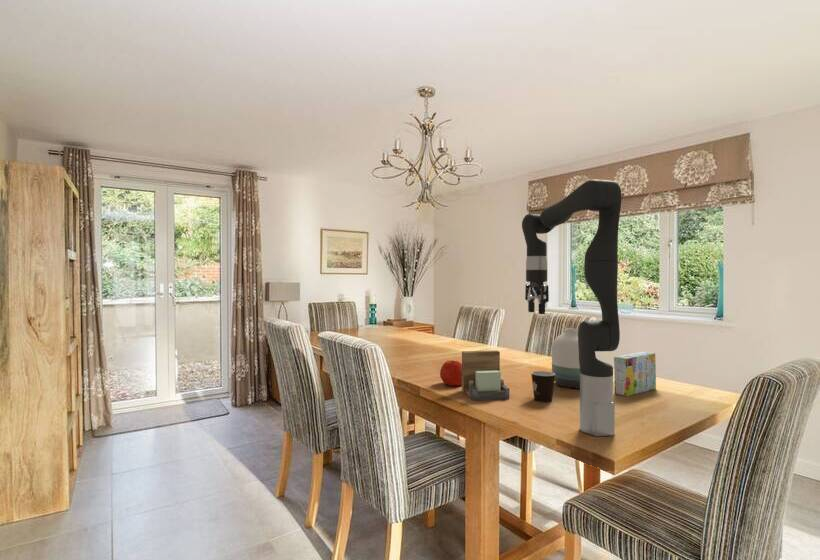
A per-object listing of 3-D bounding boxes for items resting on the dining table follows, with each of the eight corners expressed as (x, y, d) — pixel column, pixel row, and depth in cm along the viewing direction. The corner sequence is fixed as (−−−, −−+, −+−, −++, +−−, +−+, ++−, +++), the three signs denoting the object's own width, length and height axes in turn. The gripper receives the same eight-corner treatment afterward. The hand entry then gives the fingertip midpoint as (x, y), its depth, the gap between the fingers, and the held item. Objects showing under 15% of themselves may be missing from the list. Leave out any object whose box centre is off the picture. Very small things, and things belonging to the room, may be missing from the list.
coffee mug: (556, 403, 160) (556, 376, 160) (532, 402, 162) (532, 375, 162) (552, 395, 172) (552, 369, 172) (529, 394, 174) (530, 368, 173)
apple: (435, 384, 189) (435, 359, 189) (452, 380, 197) (452, 356, 197) (453, 389, 181) (453, 363, 181) (470, 384, 189) (470, 360, 189)
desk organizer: (510, 398, 167) (510, 356, 167) (472, 400, 165) (472, 357, 164) (497, 389, 181) (497, 350, 181) (461, 390, 179) (461, 351, 179)
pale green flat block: (500, 398, 168) (500, 372, 168) (477, 399, 167) (478, 372, 167) (497, 396, 171) (497, 370, 171) (475, 397, 170) (475, 371, 169)
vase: (566, 391, 177) (566, 332, 177) (544, 381, 194) (544, 327, 193) (603, 389, 181) (603, 331, 181) (578, 379, 198) (578, 326, 197)
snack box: (643, 386, 186) (643, 351, 186) (656, 389, 181) (656, 353, 181) (613, 393, 174) (613, 355, 174) (626, 397, 170) (626, 358, 170)
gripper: (555, 268, 154) (555, 314, 155) (537, 269, 168) (537, 311, 169) (535, 268, 153) (535, 315, 153) (518, 269, 167) (518, 311, 167)
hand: (536, 313), depth 161 cm, fingers open, 8 cm apart
